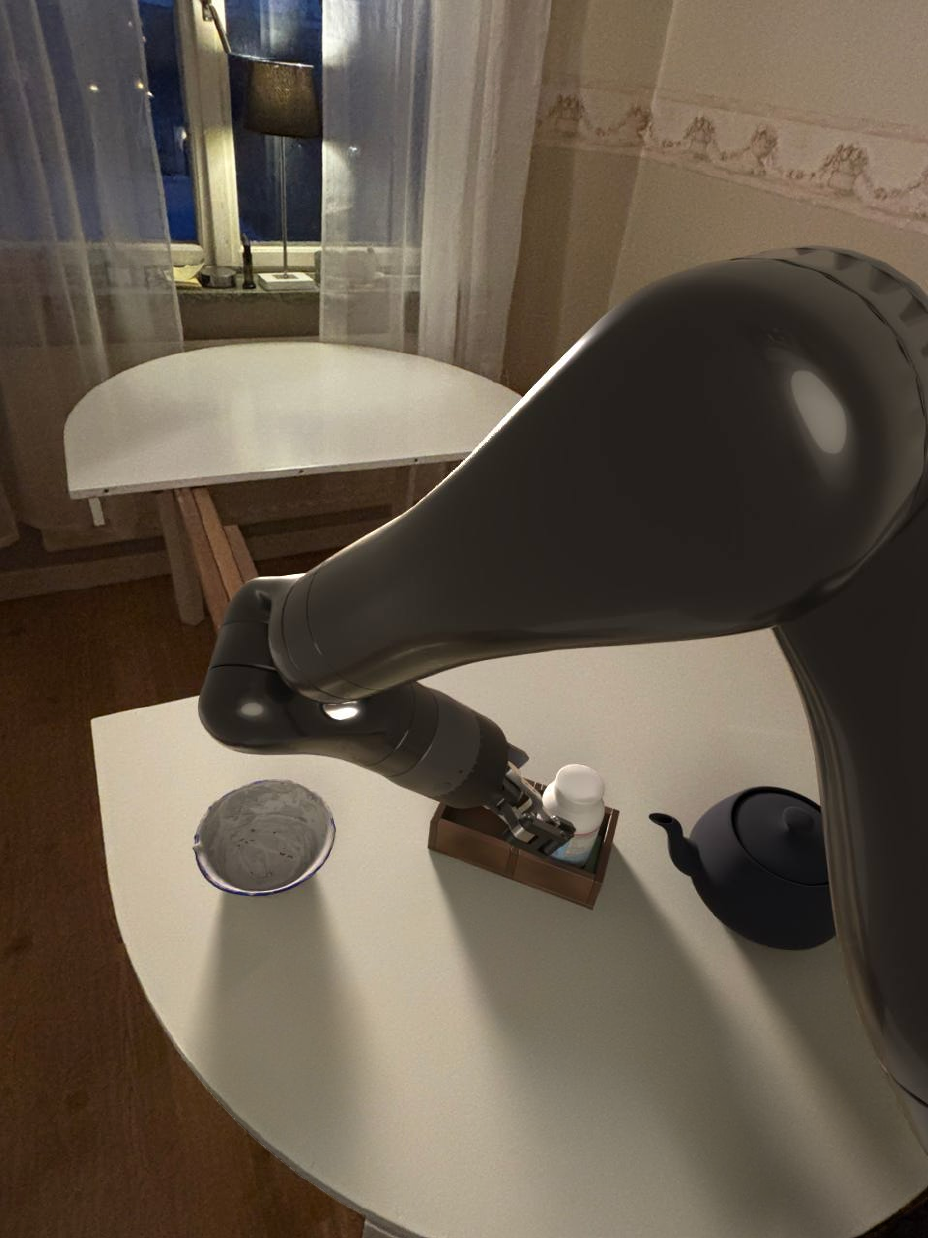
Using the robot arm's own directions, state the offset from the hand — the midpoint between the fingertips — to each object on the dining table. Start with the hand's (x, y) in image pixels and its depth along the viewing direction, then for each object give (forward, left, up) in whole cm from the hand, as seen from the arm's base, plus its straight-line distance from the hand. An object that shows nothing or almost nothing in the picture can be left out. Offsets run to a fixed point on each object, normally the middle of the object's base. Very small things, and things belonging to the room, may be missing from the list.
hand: (542, 797), depth 67 cm
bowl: (+24, +9, -12) cm, 28 cm away
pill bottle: (-3, -3, -11) cm, 12 cm away
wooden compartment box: (+1, -3, -12) cm, 12 cm away
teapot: (-22, -7, -12) cm, 26 cm away
